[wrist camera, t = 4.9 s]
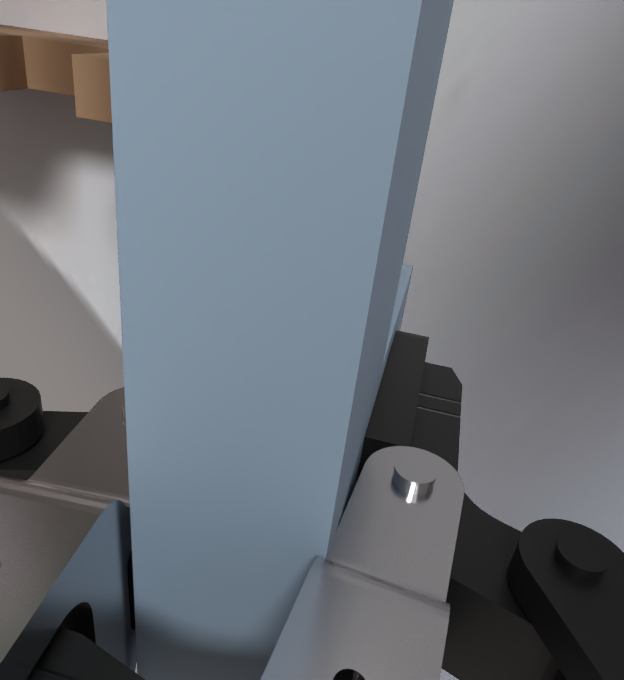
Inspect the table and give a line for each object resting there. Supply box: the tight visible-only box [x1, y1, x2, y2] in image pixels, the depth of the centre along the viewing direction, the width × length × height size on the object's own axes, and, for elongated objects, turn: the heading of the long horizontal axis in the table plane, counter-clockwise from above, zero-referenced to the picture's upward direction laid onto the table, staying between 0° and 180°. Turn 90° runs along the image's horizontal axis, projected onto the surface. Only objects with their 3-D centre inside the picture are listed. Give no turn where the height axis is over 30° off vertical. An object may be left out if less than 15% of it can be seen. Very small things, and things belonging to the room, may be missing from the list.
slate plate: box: [106, 0, 454, 680], centre depth 8 cm, size 14×2×8 cm, turn 174°
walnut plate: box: [0, 25, 112, 123], centre depth 24 cm, size 16×2×8 cm, turn 83°
